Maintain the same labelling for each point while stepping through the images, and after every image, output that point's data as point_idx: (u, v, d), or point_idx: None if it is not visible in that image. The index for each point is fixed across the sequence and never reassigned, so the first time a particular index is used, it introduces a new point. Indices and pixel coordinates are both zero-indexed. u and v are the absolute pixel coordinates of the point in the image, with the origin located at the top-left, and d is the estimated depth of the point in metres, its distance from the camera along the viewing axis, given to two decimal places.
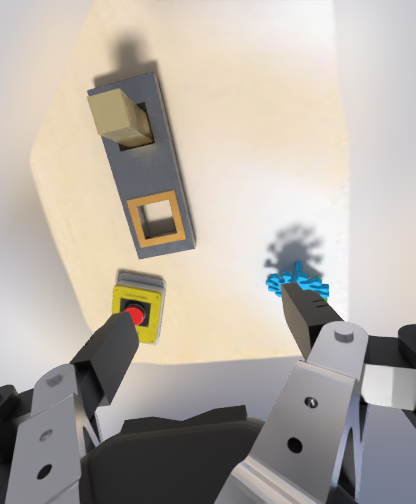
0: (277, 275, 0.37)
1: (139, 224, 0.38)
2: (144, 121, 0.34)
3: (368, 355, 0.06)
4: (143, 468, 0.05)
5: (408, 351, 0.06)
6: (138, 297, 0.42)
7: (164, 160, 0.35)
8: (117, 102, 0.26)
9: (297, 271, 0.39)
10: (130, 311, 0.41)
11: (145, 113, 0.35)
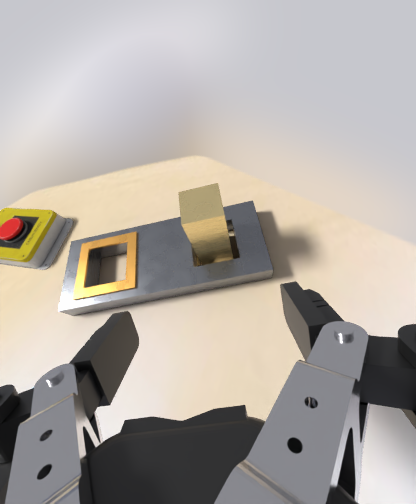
0: None
1: (107, 243, 0.31)
2: (219, 256, 0.27)
3: (368, 355, 0.06)
4: (143, 468, 0.05)
5: (408, 351, 0.06)
6: (31, 235, 0.34)
7: (172, 277, 0.27)
8: (209, 212, 0.21)
9: None
10: (15, 225, 0.34)
11: None
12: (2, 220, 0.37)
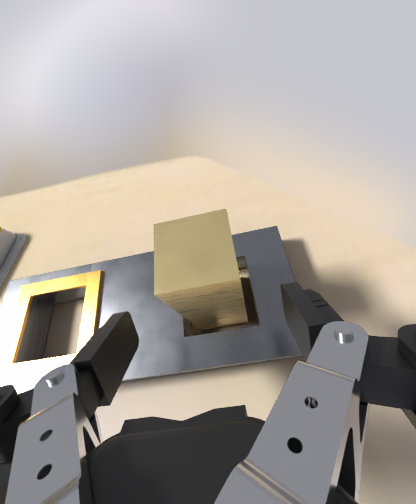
0: None
1: (57, 288, 0.20)
2: (225, 319, 0.17)
3: (368, 355, 0.06)
4: (143, 468, 0.05)
5: (408, 351, 0.06)
6: None
7: (150, 354, 0.17)
8: (209, 270, 0.10)
9: None
10: None
11: (247, 320, 0.18)
12: None
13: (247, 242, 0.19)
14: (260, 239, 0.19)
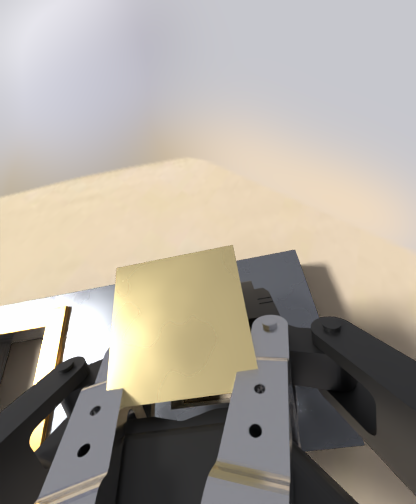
0: None
1: (9, 329, 0.16)
2: None
3: None
4: (143, 468, 0.05)
5: (321, 342, 0.07)
6: None
7: None
8: (205, 365, 0.06)
9: None
10: None
11: None
12: None
13: (256, 271, 0.15)
14: (273, 268, 0.15)
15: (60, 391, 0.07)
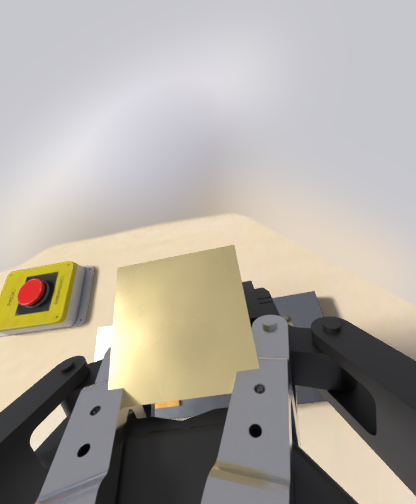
0: None
1: None
2: None
3: None
4: (143, 468, 0.05)
5: (321, 342, 0.07)
6: (57, 292, 0.31)
7: (224, 395, 0.22)
8: (206, 365, 0.06)
9: None
10: (36, 286, 0.31)
11: None
12: (14, 285, 0.34)
13: (291, 304, 0.25)
14: (302, 302, 0.25)
15: (59, 390, 0.07)
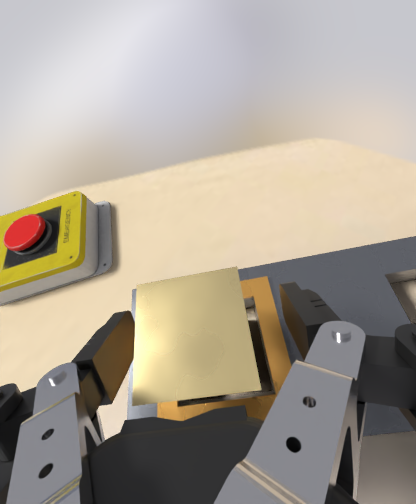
0: None
1: None
2: None
3: (365, 354, 0.06)
4: (143, 468, 0.05)
5: (405, 350, 0.06)
6: (64, 229, 0.22)
7: None
8: (214, 370, 0.07)
9: None
10: (32, 222, 0.21)
11: None
12: None
13: None
14: None
15: None
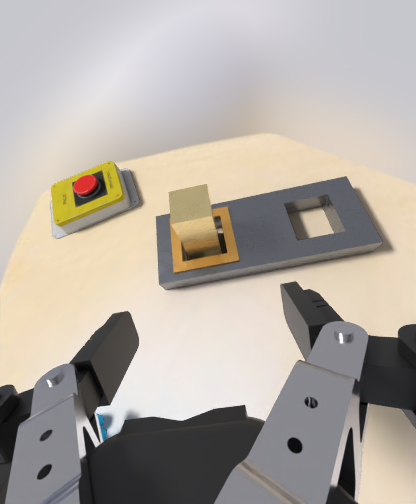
0: None
1: None
2: (207, 253, 0.28)
3: (368, 355, 0.06)
4: (143, 468, 0.05)
5: (408, 351, 0.06)
6: (108, 182, 0.36)
7: (277, 250, 0.27)
8: (197, 213, 0.22)
9: None
10: (89, 178, 0.35)
11: None
12: (62, 191, 0.37)
13: (328, 186, 0.30)
14: (336, 184, 0.30)
15: None
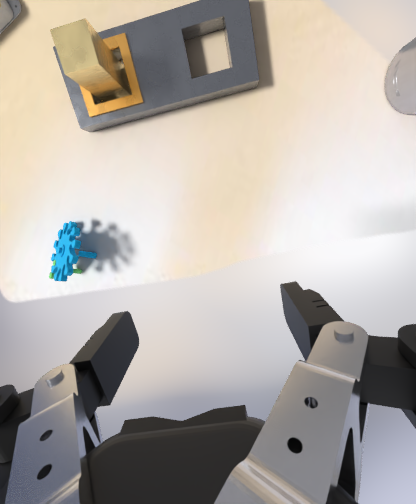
0: (77, 234, 0.35)
1: None
2: (115, 94, 0.32)
3: (368, 355, 0.06)
4: (143, 468, 0.05)
5: (408, 351, 0.06)
6: None
7: (174, 90, 0.31)
8: (85, 60, 0.24)
9: (84, 253, 0.39)
10: None
11: None
12: None
13: (226, 3, 0.28)
14: None
15: None
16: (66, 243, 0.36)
